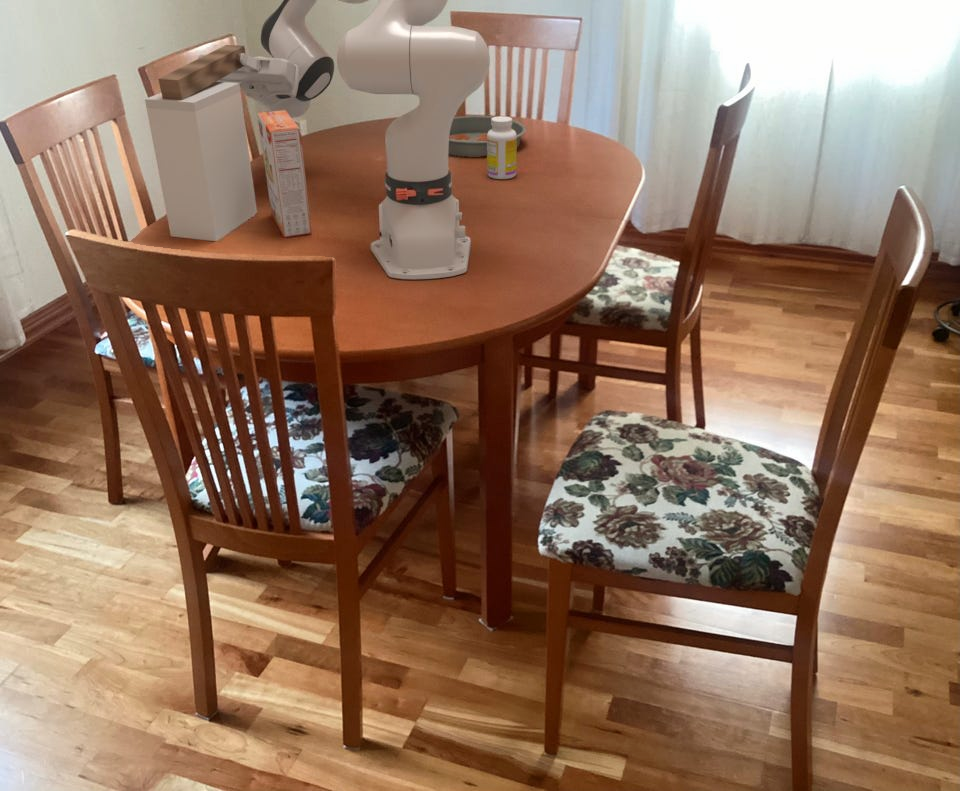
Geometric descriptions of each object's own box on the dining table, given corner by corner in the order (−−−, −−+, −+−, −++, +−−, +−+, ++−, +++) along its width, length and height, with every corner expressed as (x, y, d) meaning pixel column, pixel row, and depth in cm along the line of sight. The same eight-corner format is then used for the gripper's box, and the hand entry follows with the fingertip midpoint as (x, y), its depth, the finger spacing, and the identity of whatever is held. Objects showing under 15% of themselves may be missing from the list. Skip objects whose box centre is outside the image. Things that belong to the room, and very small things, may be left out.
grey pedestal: (214, 209, 191) (193, 80, 178) (257, 213, 189) (239, 83, 175) (170, 236, 178) (144, 99, 165) (216, 241, 176) (193, 102, 162)
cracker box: (269, 215, 188) (255, 111, 177) (298, 211, 190) (287, 108, 179) (281, 239, 177) (268, 129, 166) (312, 234, 178) (301, 126, 168)
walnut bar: (229, 63, 184) (226, 44, 182) (247, 64, 183) (244, 45, 181) (162, 98, 165) (158, 79, 163) (182, 100, 164) (178, 80, 162)
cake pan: (495, 165, 217) (495, 146, 214) (409, 151, 227) (408, 132, 225) (542, 140, 235) (543, 122, 233) (460, 128, 246) (460, 110, 243)
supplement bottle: (517, 171, 212) (518, 115, 205) (515, 180, 206) (516, 123, 200) (488, 171, 212) (488, 114, 206) (485, 180, 207) (485, 122, 200)
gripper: (219, 62, 195) (182, 37, 181) (306, 67, 190) (275, 42, 176) (215, 92, 195) (178, 69, 182) (302, 97, 190) (271, 75, 177)
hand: (226, 56), depth 179 cm, fingers closed on walnut bar, 4 cm apart
